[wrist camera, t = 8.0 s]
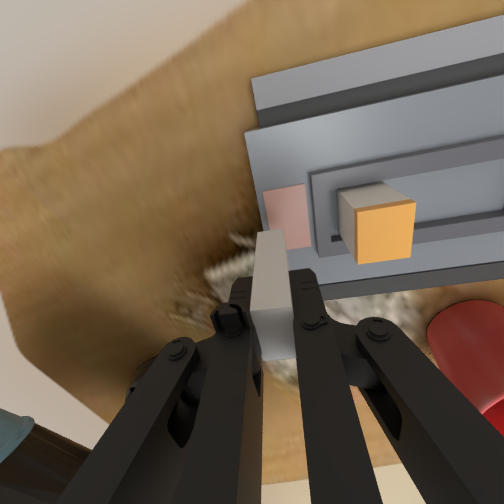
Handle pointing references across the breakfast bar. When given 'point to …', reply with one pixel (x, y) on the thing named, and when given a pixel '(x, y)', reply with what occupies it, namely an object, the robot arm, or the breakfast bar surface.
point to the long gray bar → (413, 280)
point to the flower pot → (473, 354)
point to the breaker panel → (389, 177)
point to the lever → (376, 222)
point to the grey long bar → (382, 72)
